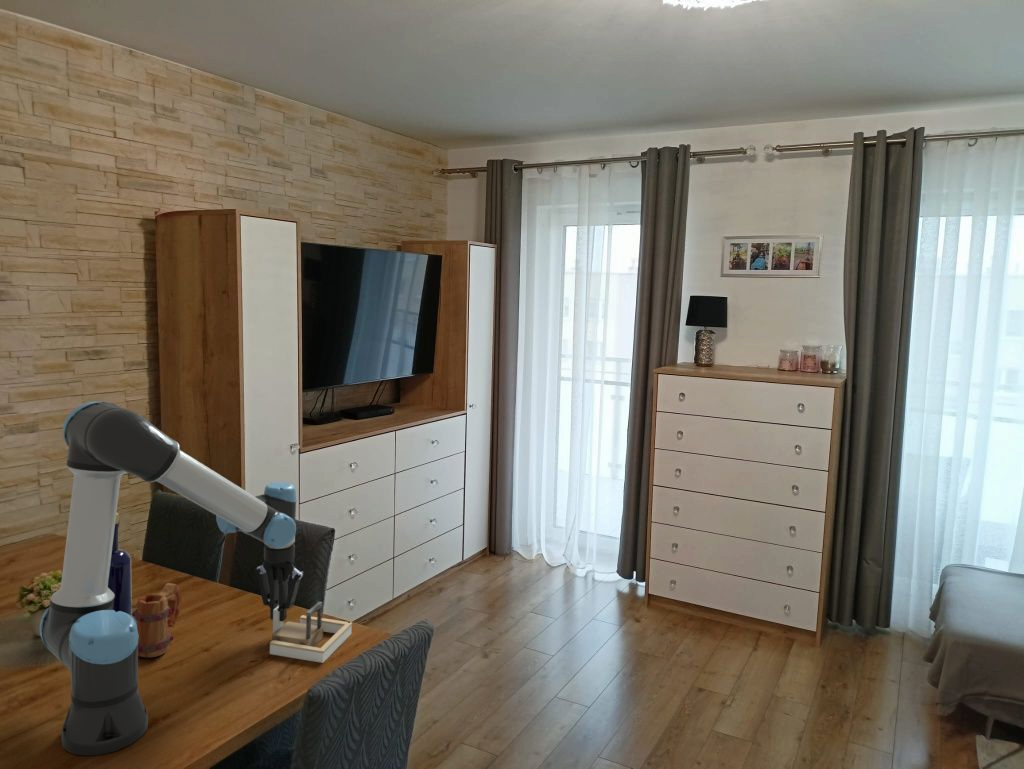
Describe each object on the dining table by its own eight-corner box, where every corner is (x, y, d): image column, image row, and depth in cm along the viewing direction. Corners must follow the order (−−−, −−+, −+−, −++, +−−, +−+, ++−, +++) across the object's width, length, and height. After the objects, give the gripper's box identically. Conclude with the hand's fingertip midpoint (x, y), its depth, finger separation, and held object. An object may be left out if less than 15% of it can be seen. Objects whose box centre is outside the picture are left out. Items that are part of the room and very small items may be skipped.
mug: (154, 665, 176) (154, 604, 174) (124, 660, 177) (123, 599, 176) (192, 637, 190) (192, 581, 188) (164, 633, 192) (164, 577, 190)
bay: (323, 663, 181) (323, 651, 181) (269, 654, 184) (269, 642, 184) (351, 633, 197) (352, 622, 197) (302, 625, 200) (302, 615, 200)
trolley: (306, 653, 185) (307, 615, 184) (270, 648, 187) (270, 609, 186) (324, 637, 195) (325, 600, 193) (289, 631, 197) (289, 594, 195)
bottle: (139, 626, 195) (138, 515, 191) (101, 636, 188) (99, 521, 184) (125, 614, 201) (124, 506, 197) (88, 624, 194) (86, 512, 191)
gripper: (310, 542, 192) (308, 629, 195) (264, 536, 194) (263, 622, 197) (295, 551, 184) (294, 642, 187) (248, 545, 187) (247, 634, 190)
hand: (278, 631), depth 192 cm, fingers closed
